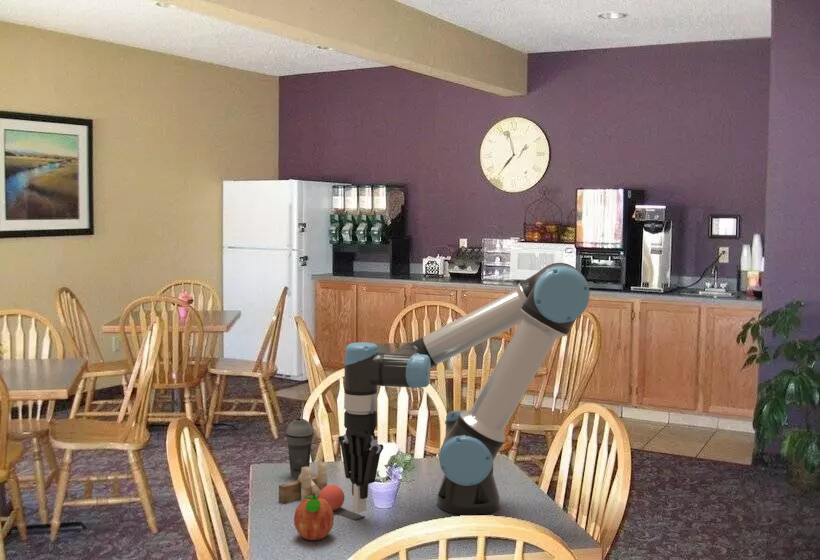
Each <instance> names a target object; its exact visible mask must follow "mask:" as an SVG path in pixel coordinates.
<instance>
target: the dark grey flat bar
mask: <svg viewBox="0 0 820 560" xmlns="http://www.w3.org/2000/svg"><path fill="white" fill-rule="evenodd" d="M334 512H335V513H334ZM333 513H334V514H336V513H337V514H336V515H339V514H340V516H341V517H344V516H345V517H344V518H347V517H348V519H350V520H352V519H353V521H358V520H361V519H363V518H365V516H364V515H362V514H359V513H356V512H353V511H351V510H349V509H345V508H343V507H340V508H339V509H337V510H334V511H333Z"/></svg>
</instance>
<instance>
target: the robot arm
mask: <svg viewBox="0 0 820 560" xmlns="http://www.w3.org/2000/svg"><path fill="white" fill-rule="evenodd" d="M586 279H587V278H586V277H585V276H584V275H583V274H582V273H581V272H580V271H579V270H578V269H577V268H576V267H574V266H573V265H571V264H568V263H564V262H555V263H550V264H548V265H546V266H544V267H543V268H541V270H538V271H537V272H536V273H535V274H533V275H531V276H530V277H528V278H526V279H524V280H522V281H521V282H519V283H518V284H517V287H516V289H514V290H512V291H510V292H508V293H507V294H504V295H502V296H501V297H499V298H497V299H495V300H492V301H491V302H489V303H487V304H484V305H482V306H481V307H479V308H477V309H475V310H473V311H470V312H469V313H467V314H465V315H463V316H461V317H459V318H458V319H457V318H456V320H453V321H451V322H450V323H447V324H446V325H443V326H442V327H439V328H437V329H436V330H433V331H432V332H430V333H428V334H425V335H424V336H423V337H420V338H418V339H416V340H414V341H411V342H406V343H405V344H403V345H401V347H400V348H399V349H398V350H397V353H393V352H391V353H389V352H388V353H387V352H386V353H385V352H379V348H378V345H377V344H376V343H375V342H374V343H373V342H367V341H366V342H363V341H362V342H361V341H360V342H352V343H349V344H347V346H346V347H345V352H344V353H345V354H344V355H345V356H344V363H343V366H344V397H343V398H344V399H343V400H344V401H343V404H344V405H343V409H344V410H345V411H344V413H343V414H344V415H343V416H344V417H343V425H344V428H345V429H346V430H345V433H344V434H343V435H340V436H338V437H337V439H338V442H339V444H340V447H341V455H342V462H343V468H344V469H343V470H344V474H345V478H346V479H349V480H350V482H351V494H352V498H353V500H352V502H353V506H352V507H353V511H352V512H354V513H357V514H359V513H363V512H365V511H367V498H368V496H369V484H370V485H371V484H373V483H375V482H376V478H377V477H376V476H377V472H378V469H379V468H378V467H379V462H380V456H381V453H382V451H383V450H384V445H383V444H382V443H381V444H380V443H378V442H377V440H376V437H377V436H376V433H375V430H376V428H377V427H378V412H377V411H376V410H377V409H378V386H379V387H394V388H395V387H397V388H410V389H415V388H427V387H428V386H429V385H430V381H431V370H432V368H434V367H436V366H437V365H439V364H441V363H443V362H445V361H448V360H449V359H452V358H453V357H455V356H457V355H459V354H461V353H463V352H466V351H467V350H469V349H472V348H473V347H475V346H477V345H480V344H482V343H483V342H486V341H487V340H490V339H491V338H493V337H496V336H498V335H500V334H502V333H504V332H506V331H508V330H510V329H513V328H514V327H516V326H518V327H517V329H516V330H515V332H514V334H513V336H512V337H511V339H510V341H509V342H508V344H507V346H506V347H505V350H504V351H503V352H502V354H501V356H500V358H499V360H498V362H497V364H495V366H494V368H493V370H492V371H491V373H490V375H489V377H488V379H487V380H486V383H485V384H484V386H483V387H482V389H481V391H480V393H479V395H478V396H477V397H476V400H475V401H474V403H473V405H471V406H472V407H471V408H470V409H468V410H466V409H465V410H451V411H449V412H447V413H446V416H445V417H446V418H445V421H444V424H445V435H444V436H445V437H444V439H443V443H442V445H441V448H439V449H440V450H439V454H438V460H439V465H440V469H441V471H442V473H443V474H444V475H443V478H442V480H441V484H440V487H439V489H438V492H437V499H436V501H437V503H436V504H437V506H438V507H439V509H440V510H442V511H445V512H447V513H450V514H455V515H460V516H465V515H464V514H483V515H488V514H491V513H494V512H495V511H497V510H499V508H500V506H501V504H500V503H501V502H500V501H501V496H500V494H499V490H498V487H497V483H496V481H495V477H494V460H495V459H496V457H497V456H498V454H499V452H500V450H501V449H502V447H503V444H504V443H505V442H506V439H507V438H506V435H505V432H504V430H505V428H506V427H507V425H508V423H509V421H510V419H511V417H512V416H513V414H514V413H515V411H516V409H517V407H518V406H519V404H520V402H521V400H522V399H523V398H524V395H525V393H526V392H527V391H528V389H529V387H530V385H531V384H532V381H533V380H534V379H535V377H536V375H537V374H538V371H539V370H540V368H541V366H542V364H543V363H544V361H545V359H546V358H547V356H548V354H549V352H550V351H551V349H552V348H553V346H554V344H555V343H556V340H557V339H559V338H563V337H566V336H568V334H569V332H570V330H572V327H573V325H574V324H575V322H576V320H577V319H578V318H579V317H580V316H582V314H583V313H584V312H585V311H586V309H587V307H588V305H589V301H590V296H591V295H590V286H589V283H588V281H587V280H586Z"/></svg>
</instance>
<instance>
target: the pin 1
mask: <svg viewBox="0 0 820 560" xmlns="http://www.w3.org/2000/svg"><path fill="white" fill-rule="evenodd" d="M311 476H312V467H311V466H309V467H307V466H306V467H302V468H301V499H300V500H301V501H300V503H301V502H302V501H303V500H305V499H307V498H304V497H306V496H312V495H311Z"/></svg>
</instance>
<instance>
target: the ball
mask: <svg viewBox="0 0 820 560" xmlns="http://www.w3.org/2000/svg"><path fill="white" fill-rule="evenodd" d="M319 498H322V499H324V500H325V501H327V502H328V504H329V505H330V506H331V508H332V510H333V511H334V510H337V509H339V508H342V506H343V504H344V502H345V493H344V491H343V489H342V488H341V487H340V486H338V485H336V484H327V486H326V487H324V488H323V489H322V490H321V492H320V495H319Z"/></svg>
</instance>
